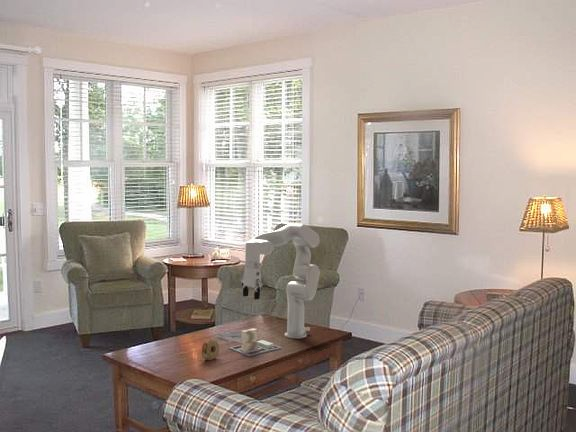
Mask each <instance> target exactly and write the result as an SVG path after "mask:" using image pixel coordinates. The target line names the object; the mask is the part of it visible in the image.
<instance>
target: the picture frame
mask: <svg viewBox="0 0 576 432" xmlns="http://www.w3.org/2000/svg"><path fill="white" fill-rule="evenodd" d="M242 330H243V329H235V330H231V331H227V332H220V333H219V332H218V333H216V337H217V338H218V339H221V340H224V341H227V342H231V341H234V342H237V343H240V344H242ZM264 338H265V337H264V336H262V335H259V334H257V340H259V339H260V340H262V339H264Z"/></svg>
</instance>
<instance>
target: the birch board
mask: <svg viewBox="0 0 576 432" xmlns="http://www.w3.org/2000/svg"><path fill="white" fill-rule="evenodd" d="M241 330H242V343H241V345H242V346H241V347H240V348H241V351H242V352H245V351H249V350H254V349H258V348H257V341H258V339H257V335H258V328H255V327H252V328H249V329H241Z"/></svg>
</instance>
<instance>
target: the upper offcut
mask: <svg viewBox="0 0 576 432" xmlns="http://www.w3.org/2000/svg"><path fill="white" fill-rule="evenodd" d="M260 340H261V341H260ZM260 340H257V345H258V346H260V347H263V348H266V349H268V350H270V349H269V348H273V347H274V345H275V344H274V343H273V342H271V341H267V340H262V339H260ZM274 348H275V347H274ZM274 348H273V349H274Z"/></svg>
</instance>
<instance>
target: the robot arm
mask: <svg viewBox="0 0 576 432" xmlns="http://www.w3.org/2000/svg"><path fill="white" fill-rule="evenodd" d="M320 240H321V239H320V236H319V234H318V233H317V232H316V231H315V230H313V229H312V228H310V227H309V225H307V224H304V223H293V222H291V223H288V224H286V225H284V226H282V227H280V228H278V229H276V230H274V231H270V232H265V233H261V234H258V235H257V236H254V237H253V238H251V239H250V240H247V241H246V242H245V253H244V254H245V255H244V257H245V258H244V260H245V261H244V271H243V278H241V279H240V282H241V286H242V297H249V292H250V291H249V288H253V289H254V291H253V292H254V293H253V299H254V300H260V299H261V291H262V289H263V287H264V286H263V285H264V284H263V283H262V272H261V268H260V263H261V262H260V260H261V255H265V256H266V255H271V254H272V252H273V251H274V247H279V246H283V245H285V244H286V243H288V242H290V241H292V242H291V243H293V245H294V248H295V252H296V256H295V261H294V264H293V265H294V266H293V269H292V276H293V277H294V278H295V279H298V280H302V281H298V280H291V281H290V282H288V283H287V285H286V287H285V291H286V292H285V293H286V298H287V299H286V300H287V321H286V323H287V325H286V330H287V331H286V332H285V333H284V337H285V338H288V339H295V340H297V339H304V338H307V336H308V335H307V333H306V332H309V331H310V330H311V327H308V326H307V327H305V303H304V300H305V301H312V300H313V299H314V298H315V296H316V295H317V294H316V293H317V289H318V285H319V281H320V276H321V273H320V272H321V271H320V268H319V266H318V265H316V264H313V263H311V259H312V252H311V249H310V248H316V247H318V245H319V244H320ZM304 281H305V282H304Z"/></svg>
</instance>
